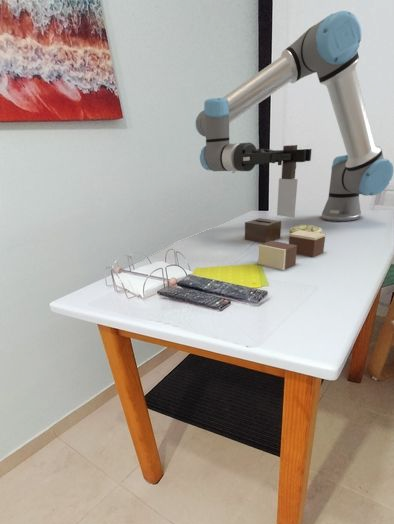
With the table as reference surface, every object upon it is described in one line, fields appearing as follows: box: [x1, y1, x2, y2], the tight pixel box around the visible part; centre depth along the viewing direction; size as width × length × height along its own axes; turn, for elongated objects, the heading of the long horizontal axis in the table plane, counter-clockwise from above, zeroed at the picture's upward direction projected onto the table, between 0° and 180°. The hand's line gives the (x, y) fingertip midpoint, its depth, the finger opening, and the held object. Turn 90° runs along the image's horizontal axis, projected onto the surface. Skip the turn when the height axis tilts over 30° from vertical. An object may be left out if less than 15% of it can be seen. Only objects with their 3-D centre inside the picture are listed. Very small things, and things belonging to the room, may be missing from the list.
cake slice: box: [257, 240, 297, 271], centre depth 96 cm, size 6×9×6 cm
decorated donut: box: [288, 224, 323, 234], centre depth 119 cm, size 10×11×4 cm
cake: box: [288, 230, 326, 258], centre depth 104 cm, size 6×9×6 cm, turn 41°
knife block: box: [244, 217, 282, 244], centre depth 121 cm, size 8×10×6 cm
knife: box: [276, 144, 298, 218], centre depth 95 cm, size 2×6×18 cm, turn 41°
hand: (307, 155), depth 88 cm, fingers closed on knife, 2 cm apart
